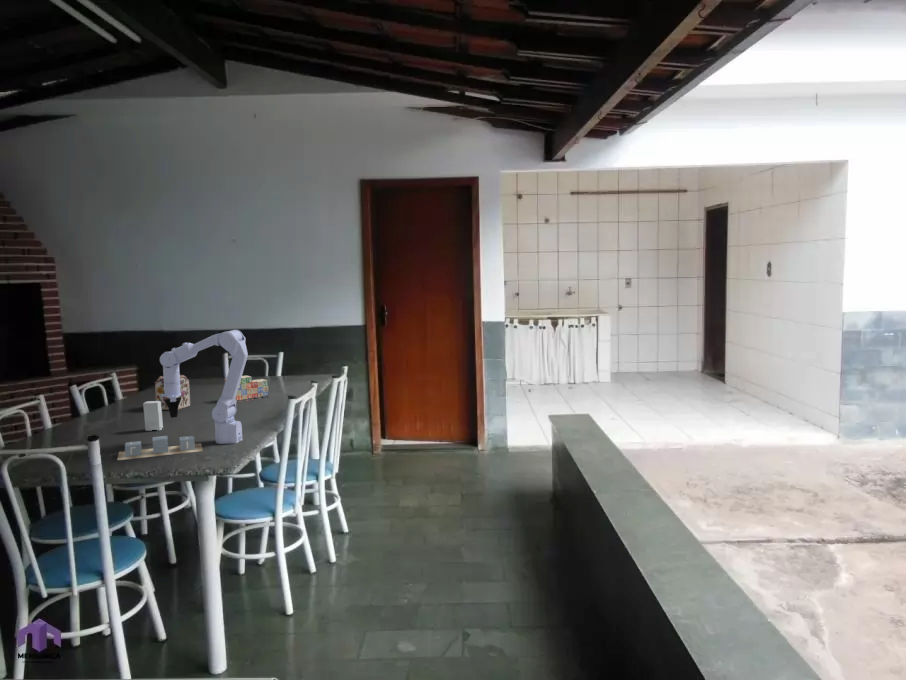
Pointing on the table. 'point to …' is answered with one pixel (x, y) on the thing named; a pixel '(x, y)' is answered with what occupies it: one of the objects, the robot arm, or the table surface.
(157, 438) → the plain block
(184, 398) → the decorative jar
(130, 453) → the block with a 7
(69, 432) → the table surface
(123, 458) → the birch board
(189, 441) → the block with a 1
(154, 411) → the skincare box
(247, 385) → the stack of blocks
